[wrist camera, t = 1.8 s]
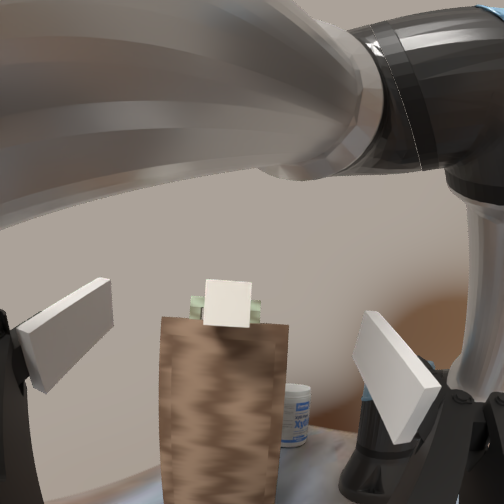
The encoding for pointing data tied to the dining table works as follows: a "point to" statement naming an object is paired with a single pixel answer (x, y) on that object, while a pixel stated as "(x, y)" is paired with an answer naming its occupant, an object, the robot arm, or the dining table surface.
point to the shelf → (221, 408)
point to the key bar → (227, 303)
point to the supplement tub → (295, 415)
